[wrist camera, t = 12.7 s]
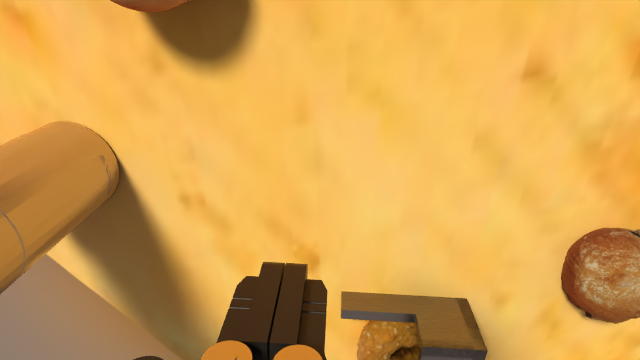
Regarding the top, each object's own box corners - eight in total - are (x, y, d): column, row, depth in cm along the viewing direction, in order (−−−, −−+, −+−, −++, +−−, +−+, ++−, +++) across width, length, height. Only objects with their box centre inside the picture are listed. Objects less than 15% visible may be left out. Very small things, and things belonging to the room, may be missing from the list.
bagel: (453, 359, 52) (463, 393, 47) (366, 371, 54) (367, 405, 49) (441, 296, 48) (450, 326, 44) (347, 311, 50) (347, 342, 45)
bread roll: (643, 233, 47) (714, 244, 39) (622, 322, 47) (689, 351, 39) (560, 213, 47) (615, 219, 39) (539, 303, 47) (590, 328, 39)
